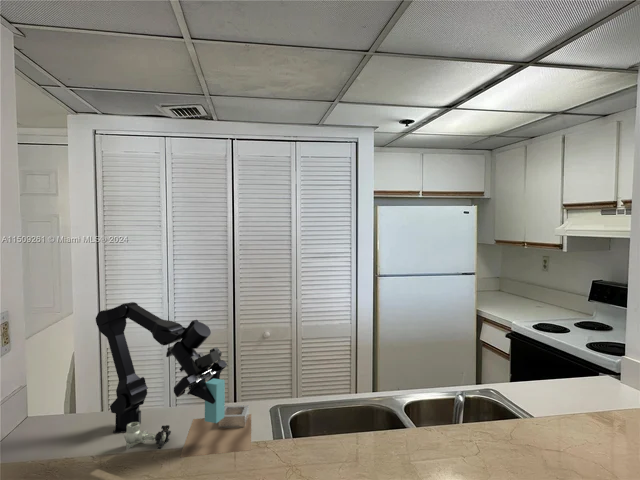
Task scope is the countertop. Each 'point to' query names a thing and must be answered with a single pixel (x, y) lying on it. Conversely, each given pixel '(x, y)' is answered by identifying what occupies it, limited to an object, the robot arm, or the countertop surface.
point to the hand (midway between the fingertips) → (218, 399)
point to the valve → (144, 435)
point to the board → (216, 438)
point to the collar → (235, 416)
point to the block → (218, 408)
